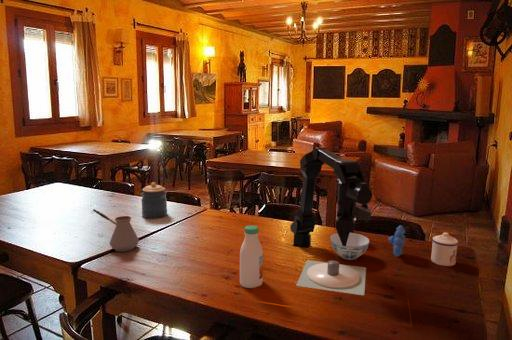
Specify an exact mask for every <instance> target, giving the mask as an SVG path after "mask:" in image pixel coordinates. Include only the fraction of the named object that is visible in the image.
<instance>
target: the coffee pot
mask: <svg viewBox="0 0 512 340" xmlns="http://www.w3.org/2000/svg"><path fill="white" fill-rule="evenodd" d="M90 213H91V214H93V215H94V213H95V214H98V215H99V216H100V217H101V218H104V219H105V220H107V221H109V222H110V223H112V224H114V225H115V227H114V230H113V233H112V236H111V237H110V240H109V245H110V247H111V248H112V249H113V250H115V251H116V252H122V253H124V252H130V251H132V250H134V249H135V247H137V245H138V244H139V242H140V239H139V238H138V236H137V233H136V232H135V230H134V228H133V225H132V224H131V220H132V217H131V216H129V215H122V216H117V217H115V218H114V220H112V219H111V218H109V217H108V216H107V215H106V214H104V213H102V212H100V211H99V210H97V209H95V208H94V209H92V211H91V212H90Z"/></svg>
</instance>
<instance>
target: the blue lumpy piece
mask: <svg viewBox="0 0 512 340" xmlns="http://www.w3.org/2000/svg"><path fill="white" fill-rule="evenodd" d="M395 229H396V231H395V232H394V235H391V236H390V237H388V239H387V240H388V242H389V244H392V250H393V252H392V253H393V255H394V256H395V257H396V258H398V257H400V256H401V255H402V253H403V252H404V250H403V249H402V248H403V247H405V243H406V240H405V239H406V236H405V233H406V231H407V230H406V229H405V228H404V226H403V225H399V226H396V228H395Z"/></svg>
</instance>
